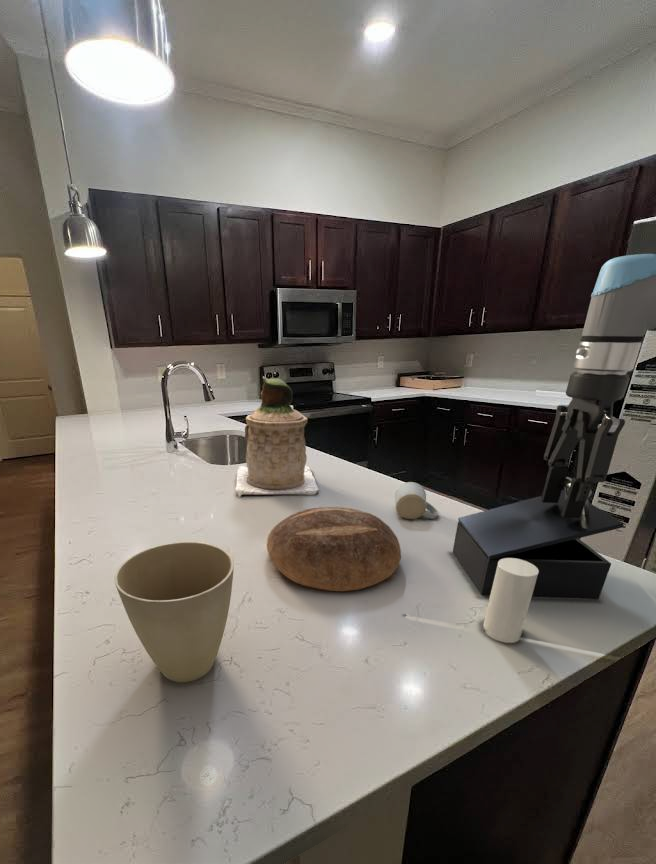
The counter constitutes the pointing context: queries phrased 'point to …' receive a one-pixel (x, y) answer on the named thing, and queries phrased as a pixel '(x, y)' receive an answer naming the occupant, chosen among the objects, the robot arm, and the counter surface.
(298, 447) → the cookie jar
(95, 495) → the counter surface
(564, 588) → the bin
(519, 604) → the canister
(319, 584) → the bread
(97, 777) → the counter surface
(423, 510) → the ceramic mug
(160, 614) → the plant pot
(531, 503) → the bin lid
